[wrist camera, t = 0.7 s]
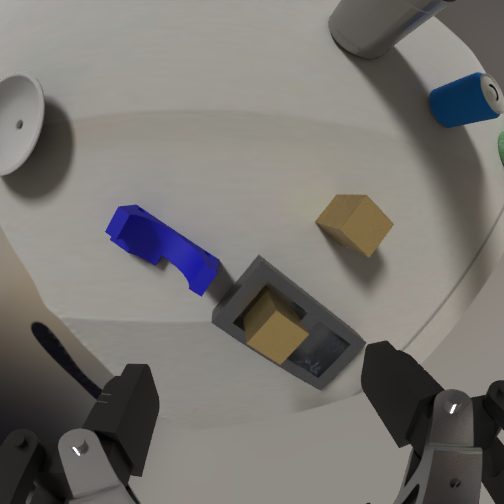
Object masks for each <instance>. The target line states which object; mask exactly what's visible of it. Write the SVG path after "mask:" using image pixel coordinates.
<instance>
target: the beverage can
mask: <svg viewBox="0 0 504 504" xmlns="http://www.w3.org/2000/svg"><path fill="white" fill-rule="evenodd" d="M429 104H430V108H431V111H432V113H433V115H434V117H435V118H436V120H437V121H438V122H439V123H440V124H441V125H443V126H444V127H447V128H451V127H456V126H460V125H465V124H469V123H474V122H479V121H484V120H489V119H494V118H497V117H498V116H499V115H500V114H502V113H503V112H504V97H503V94H502V91H501V90H500V87H499V85H498V84H497V82H496V81H495V80H494V78H492V76H490V75H489V74H487V73H484V74H482V73H479V72H478V73H474V74H471V75H469V76H466V77H464V78H461V79H459V80H456V81H454V82H451V83H449V84H446V85H444V86H441V87H439V88H437V89H434V90H433V91H432V92H431V93H430V96H429Z"/></svg>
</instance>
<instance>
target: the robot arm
mask: <svg viewBox="0 0 504 504" xmlns="http://www.w3.org/2000/svg"><path fill="white" fill-rule="evenodd" d="M454 1H455V0H341V1H340V3H339V4H338V6H337V7H336V9H335V10H334V12H333V13H332V15H331V16H330V18H329V22H328V23H329V29H330V32H331V34H332V36H333V37H334V39H335V40H336V41H337V42H338V43H339V44H340V45H341V46H342V47H343V48H345V49H346V50H347V51H349V52H351V53H353V54H355V55H357V56H360V57H364V58H377V57H379V56H381V55H383V54H384V53H385V52H386V51H388V50H389V49H390V48H391V47H393V46H394V45H395V44H397V43H398V42H399V41H400V40H402V39H403V38H404V37H406V36H407V35H408V34H409V33H411V32H412V31H413V30H415V29H416V28H417V27H419V26H420V25H421V24H423V23H424V22H426V21H427V20H428V19H430V18H431V17H432V16H434V15H435V14H437V13H438V12H439V11H440V10H442V9H443V8H445V7H446V6H448V5H449V4H451V3H452V2H454ZM361 384H362V388H363V391H364V393H365V394H366V396H367V397H368V399H369V400H370V402H371V404H372V405H373V407H374V408H375V410H376V412H377V413H378V415H379V416H380V418H381V419H382V421H383V423H384V424H385V426H386V428H387V429H388V431H389V433H390V434H391V436H392V437H393V439H394V441H395V442H396V444H397V445H398V447H399V448H401V447H403V446H406V445H408V444H411V445H412V447H413V448H412V451H411V453H410V456H409V460H408V464H407V468H406V471H405V475H404V478H403V482H402V485H401V488H400V491H399V493H398V496H397V498H396V500H395V502H394V503H393V504H479V498H480V489H481V481H482V483H483V484H484V486H485V488H486V489H487V491H488V492H489V494H490V496H491V497H492V499H493V500H494V502H495V504H504V445H503V444H502V442H501V441H500V440H499V439H498V437H497V435H498V434H499V432H500V431H501V429H503V430H504V380H499V381H495V382H493V383H492V384H491V385H490V386H489V389H488V391H487V393H486V395H482V396H477V397H472V398H470V397H469V396H468V395H467V394H466V393H464V392H462V391H459V390H454V389H449V390H444V389H443V388H442V387H441V386H440V385H439V384H438V383H437V382H436V381H435V380H434V379H433V377H432V376H431V375H429V374H428V372H426V370H424V368H423V367H422V366H421V365H420V364H418V362H417V361H416V360H415V359H414V358H413V357H412V356H411V355H409V354H407V353H405V352H403V351H401V350H396V349H395V348H394V347H393V346H392V345H391V344H390V343H389V342H388V341H381V342H377V343H372V344H368V345H367V347H366V350H365V356H364V363H363V369H362V375H361ZM158 413H159V396H158V393H157V390H156V387H155V383H154V380H153V377H152V373H151V370H150V367H149V365H147V364H127V365H126V367H125V369H124V370H123V372H122V374H121V376H115V377H114V378H113V379H111V380H110V381H109V382H108V383H107V384H106V385H105V387H104V389H103V390H102V392H101V395H100V396H99V397H98V399H97V402H96V403H95V405H94V406H93V408H92V410H91V412H90V414H89V416H88V418H87V420H86V421H85V423H84V425H83V427H82V429H75V430H71V431H69V432H67V433H66V434H64V435H63V436H62V438H61V439H60V441H59V442H40V441H39V440H38V438H37V437H36V435H35V434H34V433H33V432H32V431H30V430H27V429H19V430H16V431H14V432H12V433H10V435H8V437H7V438H6V439H5V441H4V443H3V444H2V446H1V448H0V504H25V502H26V499H27V496H28V494H29V492H30V489H31V487H32V484H33V483H34V484H35V485H36V486H37V487H36V489H35V492H34V494H33V497H32V499H31V502H30V504H141V502H140V501H139V499H138V498H137V496H136V495H135V493H134V491H133V490H132V488H131V486H130V485H129V484H128V481H129V478H130V475H133V476H139V477H142V473H143V469H144V465H145V461H146V457H147V453H148V449H149V446H150V442H151V438H152V434H153V431H154V427H155V423H156V419H157V416H158ZM367 504H370V503H367Z"/></svg>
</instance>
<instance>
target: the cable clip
mask: <svg viewBox="0 0 504 504" xmlns="http://www.w3.org/2000/svg"><path fill="white" fill-rule="evenodd" d="M105 232H106V233H107V234H109V235H110V236H111V238H110V240H111V241H112V242H114V243H115V244H117V245H118V246H119V247H121V248H122V249H124V250H125V251H127V252H128V253H131V254H134V255H136V256H139V257H141V258H143V259H145V260H147V261H148V262H150V263H152V264H153V265H156V264H157V263H158V262H159V260H160V258H161V257H162V256H163V257H165V258H166V259H168V260H169V261H170V262H171V263H173V264H174V265H175V266H176V267H177V268H178V269H179V270H180V271H181V272H182V273H183V274H184V276H185V277H186V279H187V280H188V283H189V289H190V290H192V291H193V292H195V293H196V294H198V295H200V296H201V297H202V295H203V294H204V292H205V291H206V289H207V288H208V286H209V285H210V283H211V282H212V280H213V279H214V277H215V276H216V274H217V273H218V265H219V259H217V258H216V257H214V256H213V255H211V254H210V253H208V252H207V251H205V250H203V249H202V248H200V247H199V246H197V245H196V244H194V243H193V242H191V241H190V240H188V239H187V238H185V237H184V236H182V235H181V234H179V233H178V232H176V231H175V230H173V229H172V228H170V227H169V226H167V225H166V224H164V223H163V222H161V221H160V220H158V219H157V218H155V217H154V216H152V215H151V214H149V213H148V212H146V211H145V210H143V209H142V208H141V207H139V206H138V205H129V206H120V207H118V209H117V210H116V212H115V214H114V216H113V218H112V220H111V222H110V223H109V225H108V227H107V229H106V231H105Z"/></svg>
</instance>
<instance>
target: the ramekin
mask: <svg viewBox="0 0 504 504" xmlns="http://www.w3.org/2000/svg"><path fill="white" fill-rule="evenodd" d="M498 147H499V153H500V157H501V160H502V163H503V165H504V132H502V133H501V134H500V136H499V140H498Z"/></svg>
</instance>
